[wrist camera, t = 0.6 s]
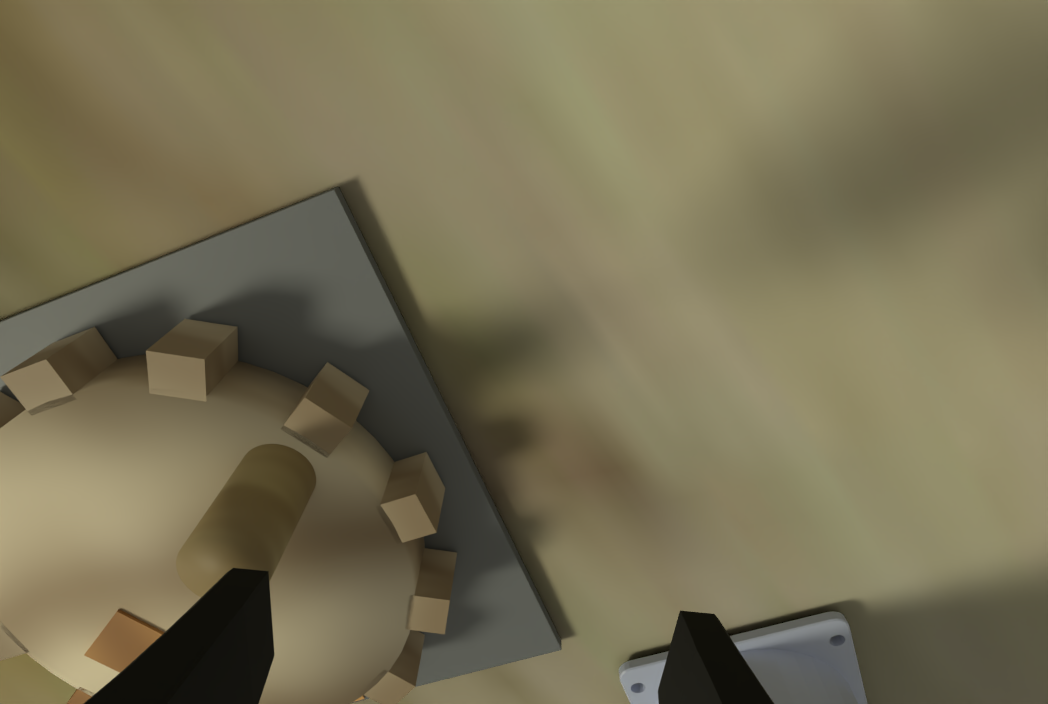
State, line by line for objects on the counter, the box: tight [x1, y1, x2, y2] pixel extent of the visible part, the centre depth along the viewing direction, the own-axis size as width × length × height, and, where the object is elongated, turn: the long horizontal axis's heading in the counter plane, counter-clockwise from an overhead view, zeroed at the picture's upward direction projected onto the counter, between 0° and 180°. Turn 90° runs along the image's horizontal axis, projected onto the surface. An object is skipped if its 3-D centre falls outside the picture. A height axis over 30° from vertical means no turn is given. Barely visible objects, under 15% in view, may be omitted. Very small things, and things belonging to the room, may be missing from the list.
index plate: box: [0, 187, 561, 703], centre depth 21 cm, size 17×17×1 cm
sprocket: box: [0, 319, 457, 704], centre depth 19 cm, size 15×15×6 cm
